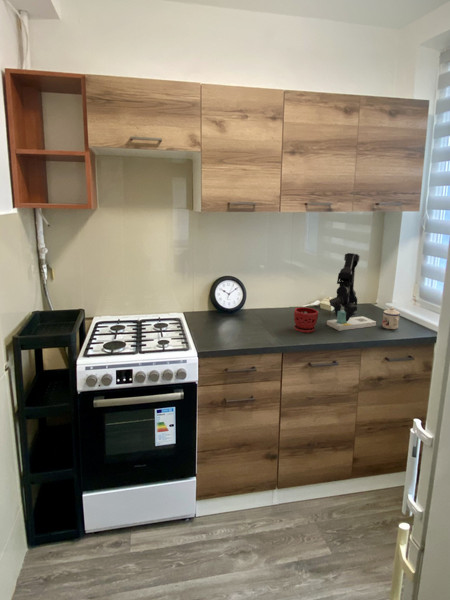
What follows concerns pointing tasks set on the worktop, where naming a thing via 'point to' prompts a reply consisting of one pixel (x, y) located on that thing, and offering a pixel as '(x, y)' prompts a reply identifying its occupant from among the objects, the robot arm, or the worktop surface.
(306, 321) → the plant pot
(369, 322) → the panel
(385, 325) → the teacup with lid
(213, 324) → the worktop surface
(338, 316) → the plug
